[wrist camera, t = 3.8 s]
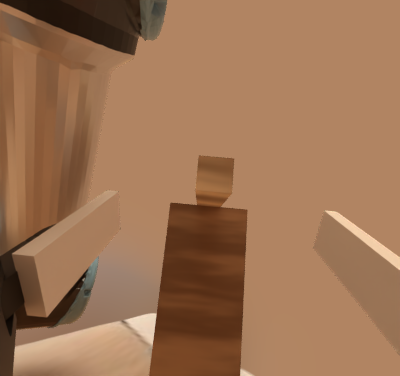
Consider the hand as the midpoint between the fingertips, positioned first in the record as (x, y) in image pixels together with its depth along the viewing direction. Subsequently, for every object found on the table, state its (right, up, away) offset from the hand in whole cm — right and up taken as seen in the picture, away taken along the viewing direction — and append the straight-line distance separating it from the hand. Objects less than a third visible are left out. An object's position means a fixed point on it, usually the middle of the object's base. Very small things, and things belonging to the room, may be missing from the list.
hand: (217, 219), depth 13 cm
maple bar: (0, -1, +16) cm, 16 cm away
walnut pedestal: (-3, -31, +13) cm, 34 cm away
